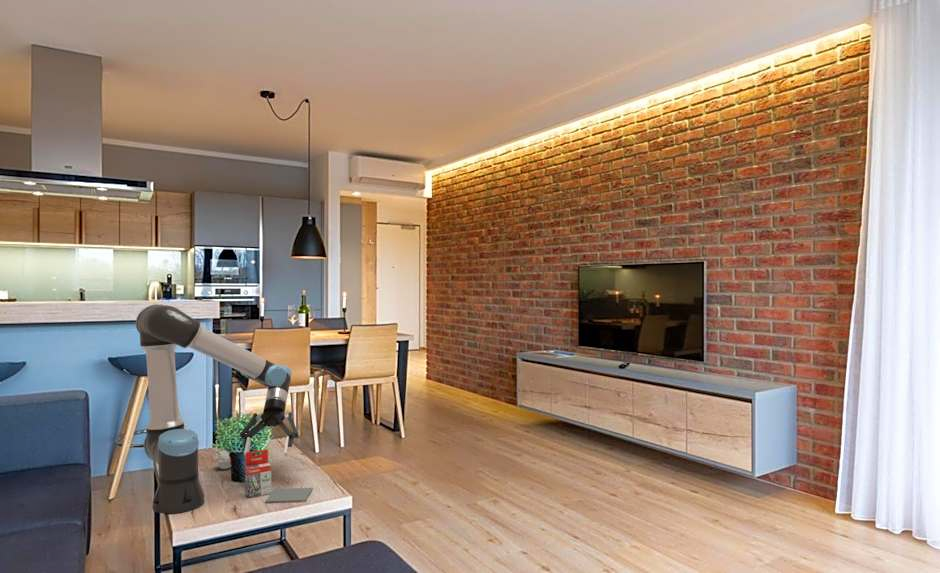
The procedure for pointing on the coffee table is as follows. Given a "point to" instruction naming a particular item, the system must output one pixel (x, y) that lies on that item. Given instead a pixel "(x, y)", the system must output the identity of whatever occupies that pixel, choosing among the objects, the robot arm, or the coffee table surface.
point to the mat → (289, 495)
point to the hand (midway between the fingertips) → (265, 455)
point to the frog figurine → (223, 459)
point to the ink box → (257, 474)
